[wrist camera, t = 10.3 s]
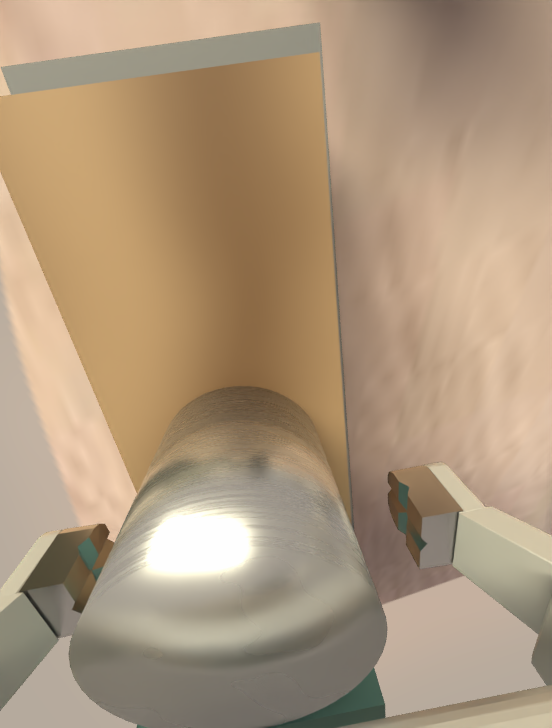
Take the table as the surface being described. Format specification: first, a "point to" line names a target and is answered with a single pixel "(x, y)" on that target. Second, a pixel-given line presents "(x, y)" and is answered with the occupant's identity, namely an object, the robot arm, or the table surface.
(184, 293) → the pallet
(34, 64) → the dock
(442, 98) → the table surface
